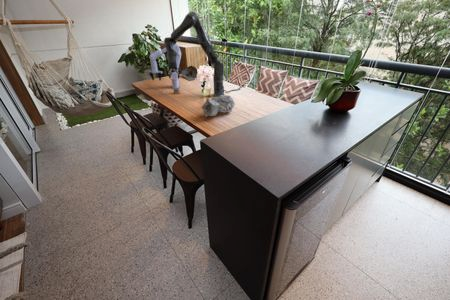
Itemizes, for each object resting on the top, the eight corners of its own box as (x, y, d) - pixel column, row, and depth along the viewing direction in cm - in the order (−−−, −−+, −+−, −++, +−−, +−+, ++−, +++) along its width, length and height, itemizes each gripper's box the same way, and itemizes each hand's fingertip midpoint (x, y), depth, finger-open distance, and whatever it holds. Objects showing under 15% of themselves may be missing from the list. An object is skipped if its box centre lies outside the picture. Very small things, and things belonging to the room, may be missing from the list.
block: (173, 93, 209) (173, 89, 207) (175, 92, 213) (174, 88, 211) (178, 93, 209) (177, 90, 207) (179, 92, 213) (178, 88, 210)
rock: (218, 115, 147) (243, 104, 163) (206, 95, 147) (232, 87, 164) (208, 125, 160) (232, 114, 177) (197, 107, 161) (222, 98, 177)
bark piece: (202, 74, 255) (191, 66, 272) (199, 69, 248) (187, 61, 265) (192, 85, 255) (181, 76, 272) (188, 81, 249) (177, 72, 266)
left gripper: (145, 67, 207) (148, 81, 215) (159, 67, 206) (161, 81, 213) (148, 66, 213) (151, 79, 221) (162, 66, 212) (164, 79, 219)
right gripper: (163, 61, 191) (166, 79, 200) (178, 62, 190) (180, 79, 199) (166, 60, 197) (168, 77, 206) (180, 60, 196) (182, 77, 205)
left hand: (156, 80), depth 217 cm, fingers open, 7 cm apart
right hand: (174, 78), depth 202 cm, fingers open, 8 cm apart
